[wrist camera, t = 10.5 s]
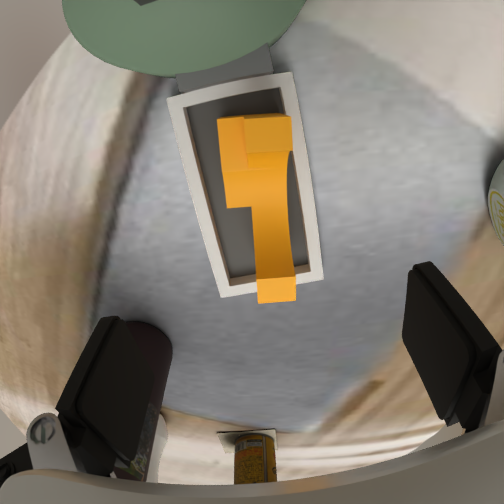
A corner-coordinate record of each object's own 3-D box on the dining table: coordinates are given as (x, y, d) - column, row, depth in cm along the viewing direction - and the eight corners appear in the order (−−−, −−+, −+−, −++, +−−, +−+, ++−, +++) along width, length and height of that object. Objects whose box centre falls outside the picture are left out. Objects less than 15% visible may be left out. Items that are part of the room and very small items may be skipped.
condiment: (277, 449, 43) (282, 513, 33) (225, 452, 44) (223, 515, 33) (275, 428, 40) (280, 501, 29) (216, 431, 40) (212, 503, 30)
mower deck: (277, -102, 12) (288, -159, 4) (351, 264, 28) (386, 327, 20) (84, -52, 14) (33, -87, 6) (171, 296, 29) (149, 366, 21)
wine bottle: (186, 344, 32) (145, 638, 5) (154, 374, 34) (107, 617, 8) (129, 307, 30) (32, 610, 3) (103, 343, 32) (21, 588, 5)
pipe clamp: (220, 117, 22) (211, 122, 16) (279, 112, 22) (291, 116, 16) (235, 260, 27) (232, 305, 22) (285, 256, 27) (295, 300, 21)
